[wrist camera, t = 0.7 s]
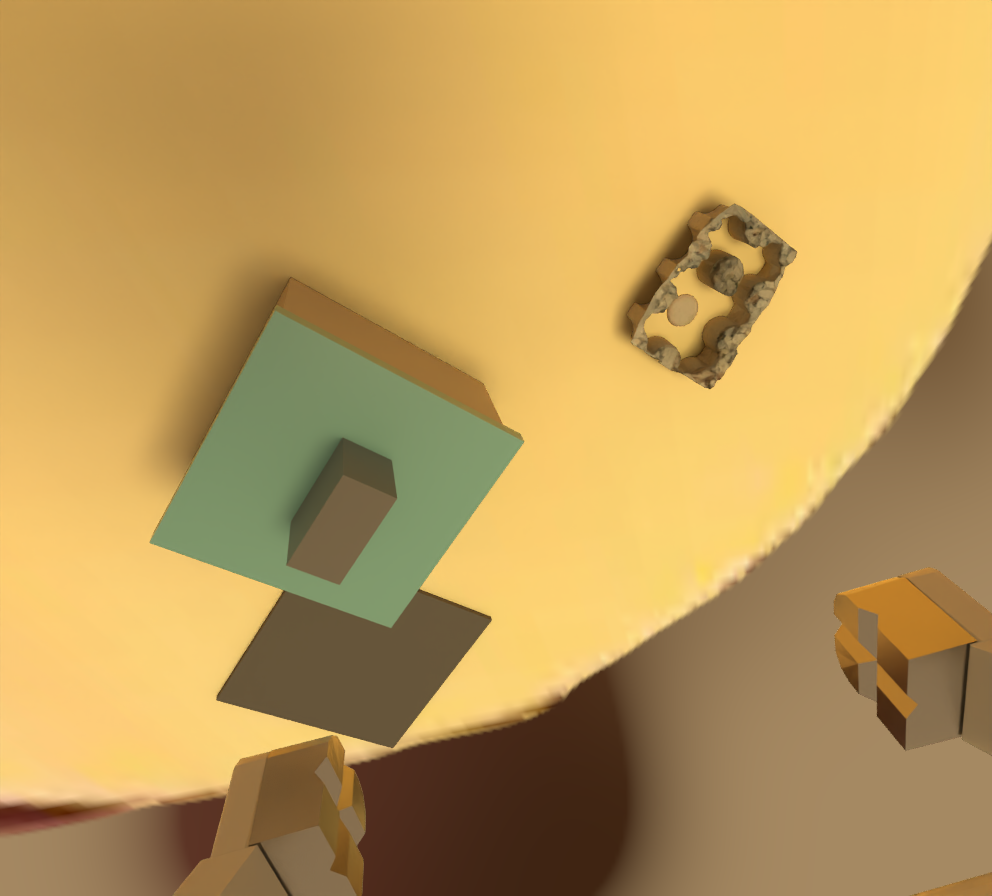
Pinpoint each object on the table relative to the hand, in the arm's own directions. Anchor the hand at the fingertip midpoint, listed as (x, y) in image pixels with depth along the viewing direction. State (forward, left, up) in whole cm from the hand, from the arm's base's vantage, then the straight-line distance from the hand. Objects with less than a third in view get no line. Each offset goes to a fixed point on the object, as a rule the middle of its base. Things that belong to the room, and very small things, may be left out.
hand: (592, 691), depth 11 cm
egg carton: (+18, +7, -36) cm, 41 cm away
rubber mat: (+13, -31, -35) cm, 49 cm away
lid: (+2, -13, -29) cm, 31 cm away
